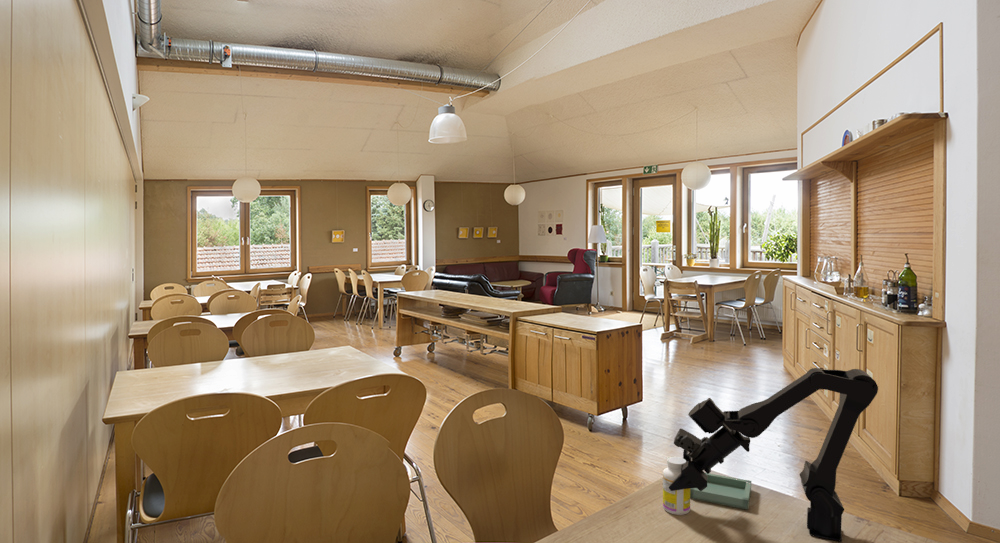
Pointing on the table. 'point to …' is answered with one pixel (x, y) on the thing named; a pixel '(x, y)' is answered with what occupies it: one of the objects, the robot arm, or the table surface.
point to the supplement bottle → (676, 499)
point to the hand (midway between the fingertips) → (670, 483)
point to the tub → (724, 491)
